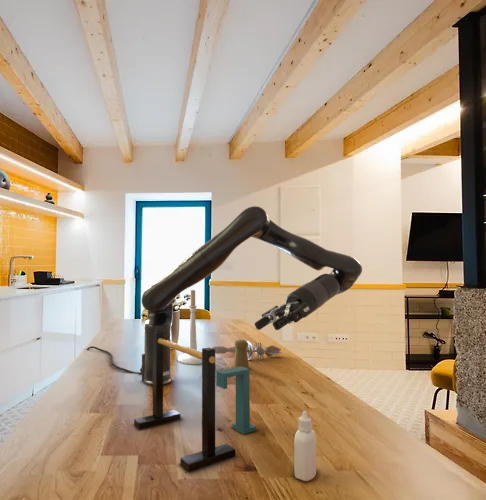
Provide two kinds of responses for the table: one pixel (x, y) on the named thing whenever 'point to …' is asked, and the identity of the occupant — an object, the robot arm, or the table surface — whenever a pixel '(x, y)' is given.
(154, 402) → the rack
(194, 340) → the candlestick
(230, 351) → the ornate silver scepter
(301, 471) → the eye dropper bottle
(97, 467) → the table surface
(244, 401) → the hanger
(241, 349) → the cork
